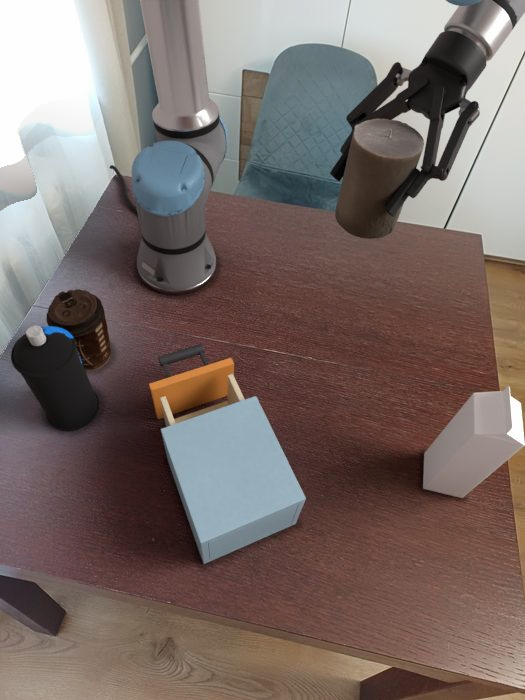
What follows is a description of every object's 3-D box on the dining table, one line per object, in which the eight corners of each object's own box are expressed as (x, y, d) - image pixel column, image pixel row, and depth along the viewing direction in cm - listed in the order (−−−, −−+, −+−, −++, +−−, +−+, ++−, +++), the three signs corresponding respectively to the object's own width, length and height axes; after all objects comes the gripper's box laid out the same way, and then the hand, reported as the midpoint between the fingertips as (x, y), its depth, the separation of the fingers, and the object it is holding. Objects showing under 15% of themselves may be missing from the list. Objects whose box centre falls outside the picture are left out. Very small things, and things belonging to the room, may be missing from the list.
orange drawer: (145, 383, 81) (137, 352, 73) (218, 360, 84) (217, 328, 77) (185, 498, 70) (181, 475, 63) (266, 466, 74) (271, 440, 67)
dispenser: (167, 461, 74) (160, 428, 65) (252, 429, 78) (256, 395, 69) (203, 564, 66) (200, 543, 57) (295, 523, 70) (306, 498, 61)
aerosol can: (87, 436, 76) (50, 364, 59) (36, 425, 76) (-15, 350, 60) (107, 391, 80) (78, 312, 64) (59, 381, 81) (18, 300, 65)
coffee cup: (72, 333, 87) (51, 282, 76) (120, 335, 87) (106, 284, 76) (61, 375, 82) (37, 327, 71) (112, 377, 82) (96, 329, 71)
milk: (422, 489, 74) (484, 422, 56) (423, 452, 78) (482, 378, 60) (463, 498, 74) (539, 434, 56) (462, 461, 77) (534, 389, 59)
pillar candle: (387, 247, 74) (421, 157, 62) (326, 227, 75) (346, 136, 63) (401, 209, 79) (434, 119, 67) (343, 191, 81) (365, 101, 69)
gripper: (539, 96, 64) (428, 241, 70) (403, 32, 73) (314, 167, 79) (542, 65, 58) (418, 229, 64) (392, -1, 66) (295, 148, 72)
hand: (361, 194), depth 71 cm, fingers closed on pillar candle, 9 cm apart
